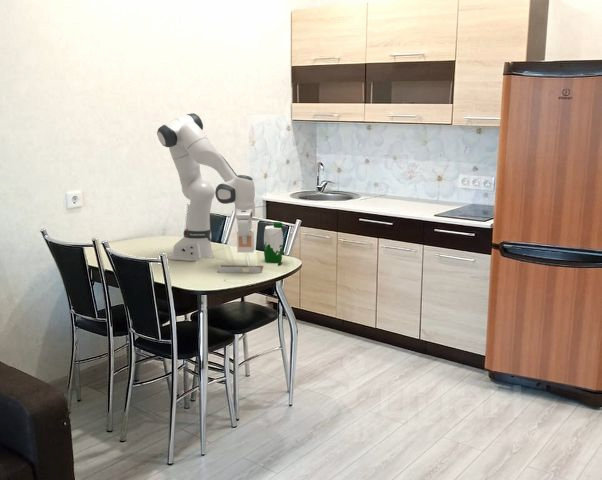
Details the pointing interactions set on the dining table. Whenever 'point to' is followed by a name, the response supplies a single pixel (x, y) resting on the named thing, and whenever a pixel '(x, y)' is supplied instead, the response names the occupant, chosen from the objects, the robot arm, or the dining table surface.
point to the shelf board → (242, 266)
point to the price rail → (238, 269)
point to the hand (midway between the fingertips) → (245, 242)
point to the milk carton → (273, 243)
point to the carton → (245, 247)
